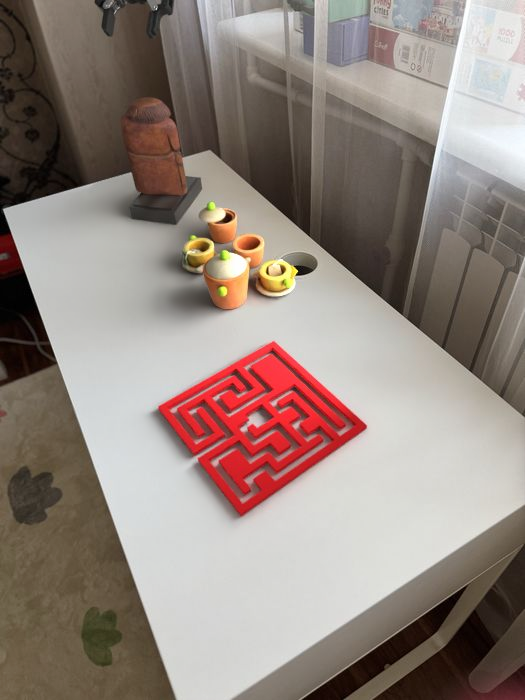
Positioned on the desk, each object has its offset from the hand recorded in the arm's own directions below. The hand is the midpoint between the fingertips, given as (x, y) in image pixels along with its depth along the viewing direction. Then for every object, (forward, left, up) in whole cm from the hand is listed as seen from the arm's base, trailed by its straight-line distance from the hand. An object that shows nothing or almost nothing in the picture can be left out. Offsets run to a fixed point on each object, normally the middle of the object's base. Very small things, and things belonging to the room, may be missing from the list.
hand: (128, 35), depth 95 cm
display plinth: (+5, -6, -30) cm, 31 cm away
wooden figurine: (+4, -6, -27) cm, 28 cm away
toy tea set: (+25, -24, -30) cm, 45 cm away
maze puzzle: (+40, -54, -30) cm, 73 cm away
